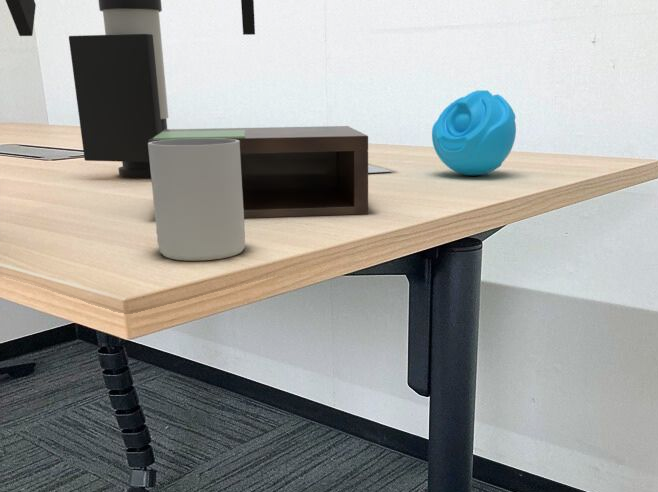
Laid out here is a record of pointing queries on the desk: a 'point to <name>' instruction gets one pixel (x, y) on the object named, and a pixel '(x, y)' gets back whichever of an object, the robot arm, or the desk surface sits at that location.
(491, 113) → the blue rounded piece
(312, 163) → the shelf
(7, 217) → the desk surface
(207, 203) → the cup
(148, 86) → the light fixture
